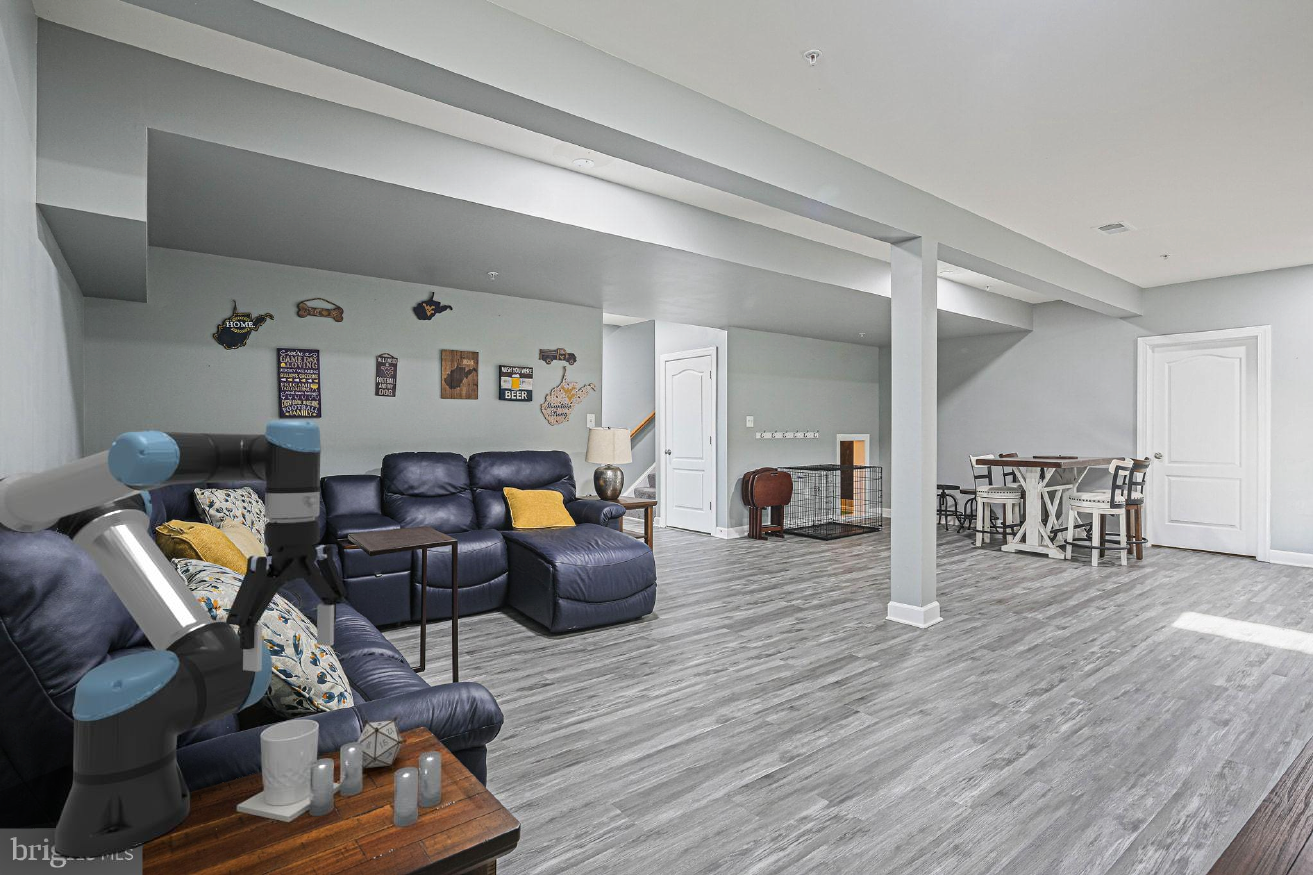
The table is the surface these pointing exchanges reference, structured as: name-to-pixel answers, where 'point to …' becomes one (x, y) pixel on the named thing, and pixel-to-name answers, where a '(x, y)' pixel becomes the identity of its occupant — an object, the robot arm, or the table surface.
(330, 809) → the spacer posts
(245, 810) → the coaster
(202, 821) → the table surface
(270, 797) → the white cup
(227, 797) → the table surface
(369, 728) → the game die
